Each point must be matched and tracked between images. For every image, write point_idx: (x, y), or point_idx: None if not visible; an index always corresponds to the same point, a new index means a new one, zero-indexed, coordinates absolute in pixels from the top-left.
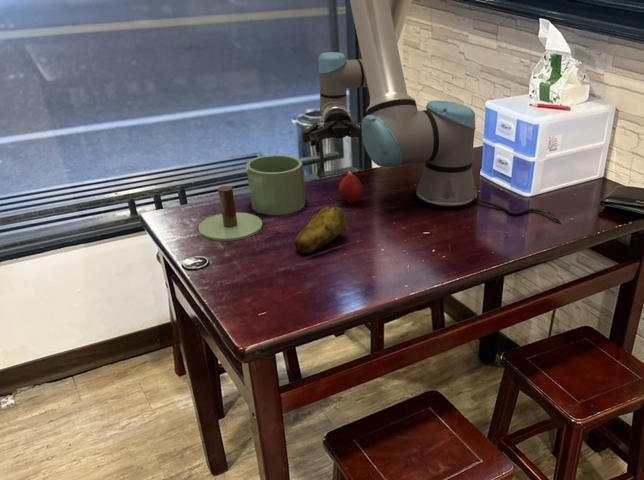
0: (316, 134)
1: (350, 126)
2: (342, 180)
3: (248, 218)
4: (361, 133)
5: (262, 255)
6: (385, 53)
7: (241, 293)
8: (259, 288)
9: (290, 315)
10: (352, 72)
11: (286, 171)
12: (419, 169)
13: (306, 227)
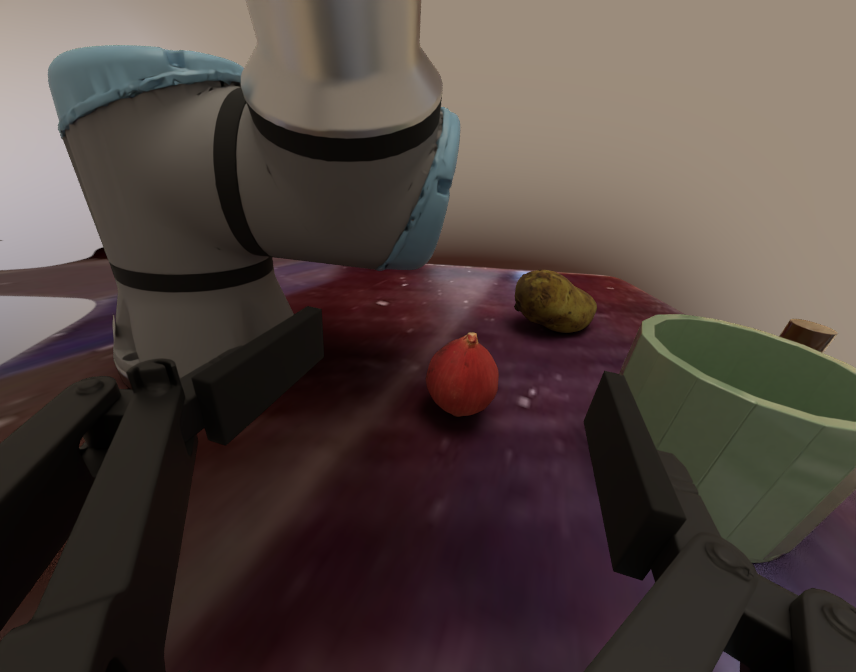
0: (651, 481)
1: (109, 656)
2: (491, 359)
3: None
4: (170, 492)
5: None
6: None
7: (642, 306)
8: (623, 305)
9: (583, 281)
10: None
11: (678, 315)
12: None
13: (583, 294)
